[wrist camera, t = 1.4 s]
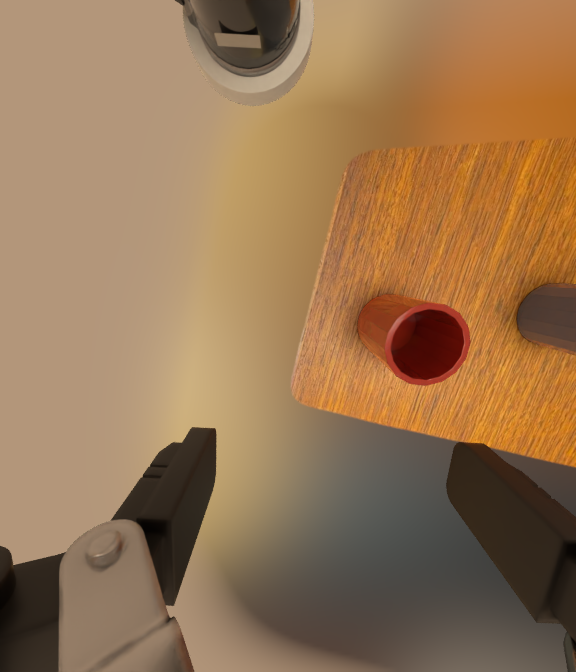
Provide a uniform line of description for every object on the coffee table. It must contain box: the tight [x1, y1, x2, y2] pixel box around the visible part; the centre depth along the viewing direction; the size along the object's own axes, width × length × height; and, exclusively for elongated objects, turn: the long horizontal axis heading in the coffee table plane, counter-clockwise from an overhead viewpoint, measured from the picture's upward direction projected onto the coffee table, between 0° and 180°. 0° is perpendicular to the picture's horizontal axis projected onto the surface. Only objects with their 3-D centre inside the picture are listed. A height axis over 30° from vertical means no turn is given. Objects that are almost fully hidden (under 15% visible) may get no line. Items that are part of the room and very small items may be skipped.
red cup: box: [357, 294, 470, 386], centre depth 27 cm, size 7×7×9 cm
